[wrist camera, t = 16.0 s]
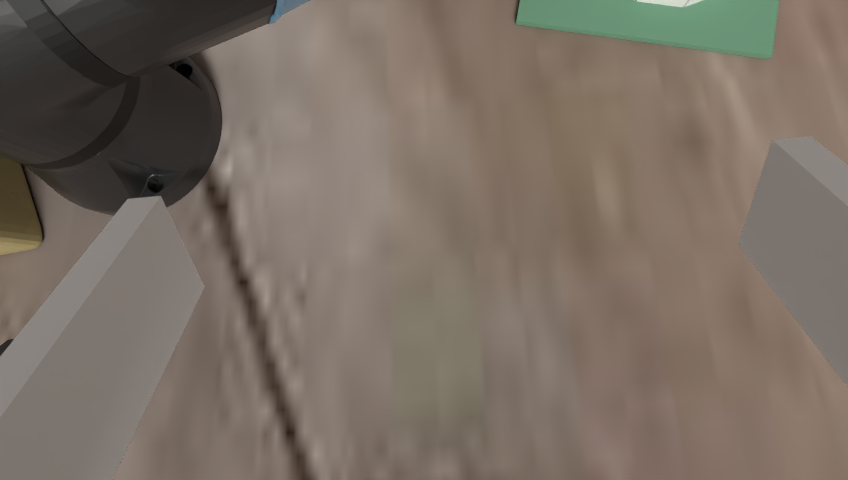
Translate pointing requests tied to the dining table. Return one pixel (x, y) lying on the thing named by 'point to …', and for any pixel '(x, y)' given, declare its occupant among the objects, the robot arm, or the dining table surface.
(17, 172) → the cheese
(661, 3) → the white round plate
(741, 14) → the putting mat
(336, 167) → the dining table surface
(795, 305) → the robot arm
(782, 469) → the dining table surface
